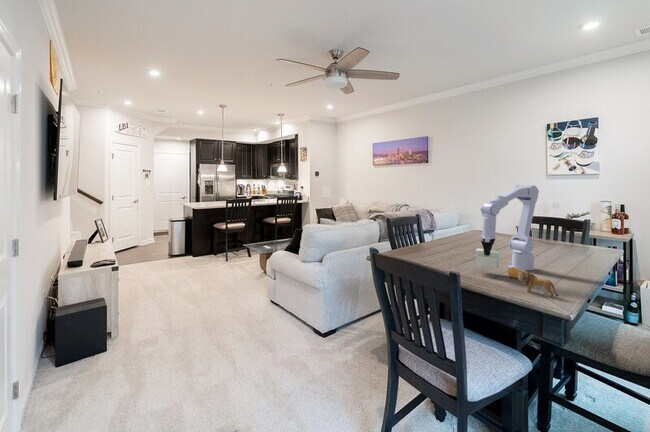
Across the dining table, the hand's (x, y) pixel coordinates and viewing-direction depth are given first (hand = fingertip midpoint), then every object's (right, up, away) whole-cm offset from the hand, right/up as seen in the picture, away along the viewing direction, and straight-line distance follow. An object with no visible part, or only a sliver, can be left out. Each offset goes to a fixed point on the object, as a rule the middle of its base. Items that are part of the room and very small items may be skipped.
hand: (487, 253), depth 156 cm
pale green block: (0, -5, +1) cm, 5 cm away
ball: (+10, -8, -5) cm, 14 cm away
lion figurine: (+7, -14, -26) cm, 30 cm away
